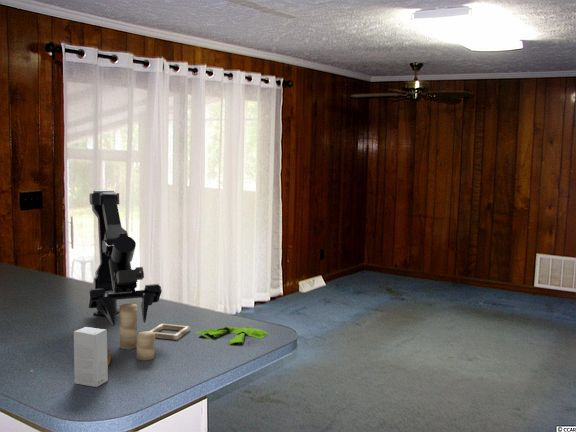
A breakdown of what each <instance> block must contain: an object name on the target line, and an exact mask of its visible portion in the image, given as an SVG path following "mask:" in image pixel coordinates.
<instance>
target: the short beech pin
mask: <svg viewBox="0 0 576 432" xmlns="http://www.w3.org/2000/svg"><path fill="white" fill-rule="evenodd" d="M149 331H150V330H149ZM149 331H147V330H146V331H140V332H137V347H136V359H137V360H138V361H150V360H153V359H155V357H156V356H155V355H156V351H155V350H156V349H155V348H156V347H155V346H156V338H155V333H154V332H149Z"/></svg>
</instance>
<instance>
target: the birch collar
mask: <svg viewBox="0 0 576 432" xmlns="http://www.w3.org/2000/svg"><path fill="white" fill-rule="evenodd" d="M162 330H172V331H177V332H176V333H167V332H161V331H162ZM190 331H191V326H189V325H179V324H171V323H170V324H169V323H160V324H159V325H157V326H155V327H154V328H152V329H150V330H149V332H154V333H155V339H156V338H157V339H164V340H165V339H166V340H176V341H178V340H179V339H180V338H181V337H183V336H185V334H187V333H188V332H190Z"/></svg>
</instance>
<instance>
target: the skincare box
mask: <svg viewBox="0 0 576 432" xmlns="http://www.w3.org/2000/svg"><path fill="white" fill-rule="evenodd" d="M107 349H108V330H107V329H105V328H98V327H97V328H95V327H90V326H89V327H88V326H84V327H82V328H79V329H76V330H74V331H73V360H74V362H73V363H74V365H73V367H74V369H73V370H74V384H77V385H82V386H87V387H94V388H98V387H99V386H101V385H102V384H104V383H106V382H108V381H109V380H108V379H109V376H108V373H109V371H108V370H109V369H108V368H109V367H108V366H109V364H108V365H107Z"/></svg>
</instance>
